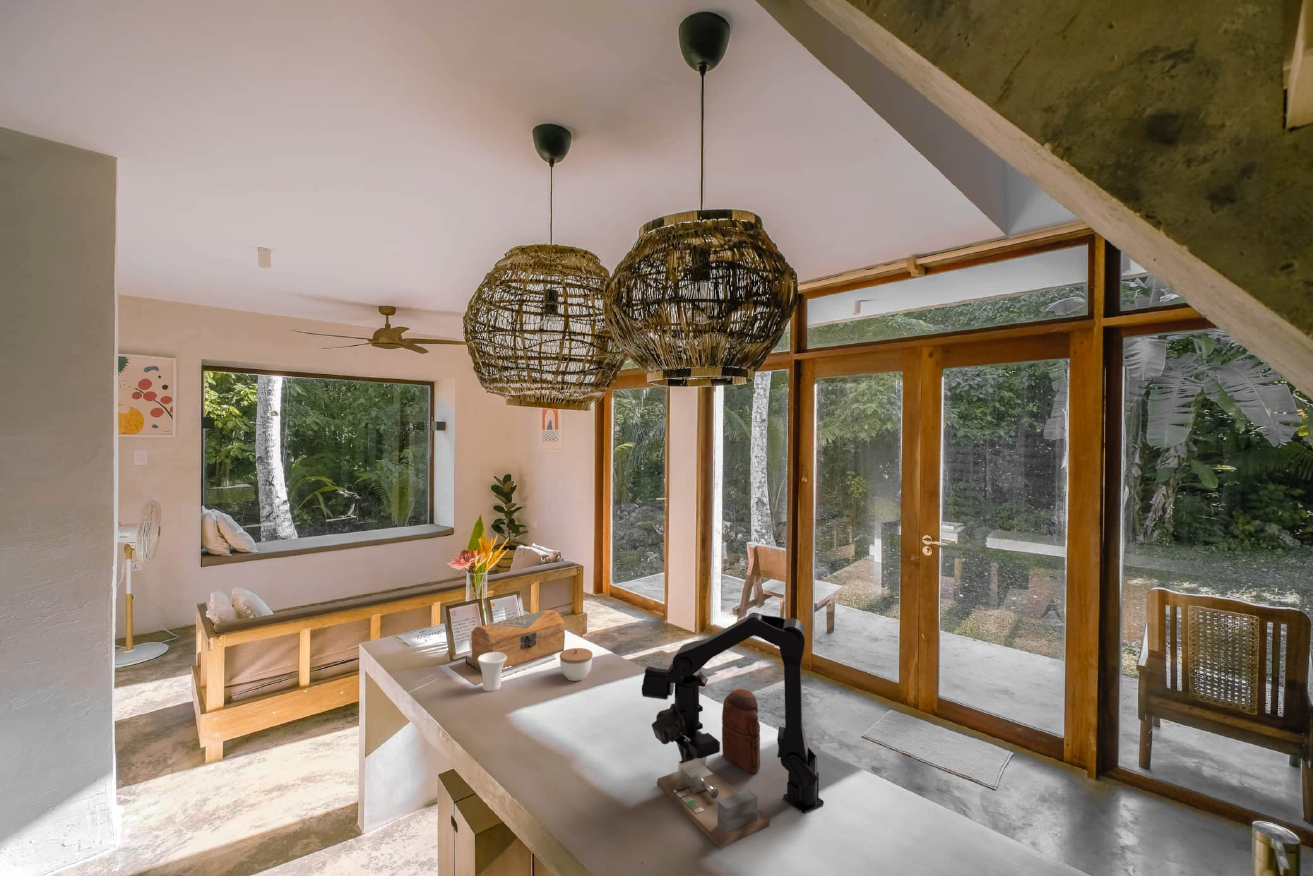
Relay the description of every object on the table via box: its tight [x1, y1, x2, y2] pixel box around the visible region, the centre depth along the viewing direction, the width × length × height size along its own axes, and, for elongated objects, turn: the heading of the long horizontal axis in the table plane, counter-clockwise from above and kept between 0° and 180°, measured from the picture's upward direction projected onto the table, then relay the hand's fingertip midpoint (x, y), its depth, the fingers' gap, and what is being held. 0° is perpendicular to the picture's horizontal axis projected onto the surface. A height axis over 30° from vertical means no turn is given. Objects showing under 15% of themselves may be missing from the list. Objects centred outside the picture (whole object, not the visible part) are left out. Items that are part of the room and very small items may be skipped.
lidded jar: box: [559, 647, 593, 682], centre depth 197 cm, size 11×11×9 cm
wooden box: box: [470, 609, 566, 669], centre depth 214 cm, size 30×16×14 cm, turn 133°
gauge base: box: [656, 764, 771, 849], centre depth 131 cm, size 13×24×6 cm, turn 31°
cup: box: [478, 652, 507, 692], centre depth 189 cm, size 9×9×10 cm
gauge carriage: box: [676, 756, 719, 798], centre depth 133 cm, size 9×9×5 cm
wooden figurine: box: [721, 688, 761, 775], centre depth 147 cm, size 12×6×18 cm, turn 42°
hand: (686, 767), depth 139 cm, fingers closed
